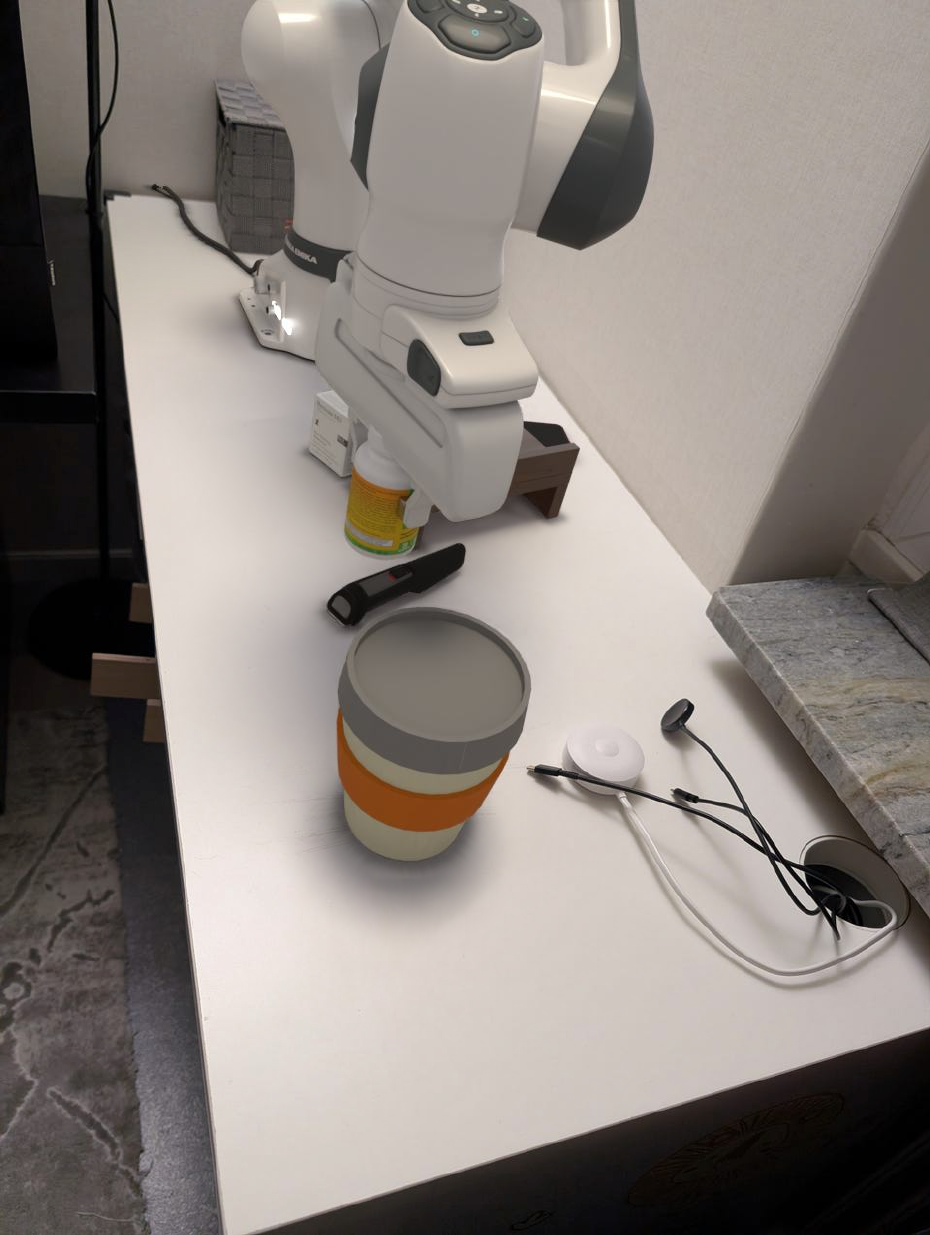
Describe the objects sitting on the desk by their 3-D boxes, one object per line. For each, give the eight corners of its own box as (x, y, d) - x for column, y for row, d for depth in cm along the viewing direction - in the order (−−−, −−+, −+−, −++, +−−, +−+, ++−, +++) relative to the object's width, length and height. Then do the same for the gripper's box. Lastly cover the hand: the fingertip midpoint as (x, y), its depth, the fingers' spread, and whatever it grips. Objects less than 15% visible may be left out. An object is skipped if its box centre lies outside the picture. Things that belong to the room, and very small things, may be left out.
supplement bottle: (404, 571, 65) (428, 457, 58) (333, 549, 65) (349, 434, 58) (422, 529, 69) (446, 419, 62) (355, 509, 69) (372, 397, 62)
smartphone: (577, 455, 110) (459, 445, 106) (575, 461, 111) (458, 452, 106) (561, 424, 115) (449, 413, 111) (559, 430, 116) (447, 419, 112)
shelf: (350, 486, 97) (361, 412, 91) (498, 459, 107) (516, 391, 102) (406, 551, 90) (421, 477, 85) (557, 516, 101) (580, 448, 95)
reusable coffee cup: (399, 719, 74) (431, 580, 64) (518, 814, 69) (572, 679, 59) (283, 803, 65) (299, 658, 56) (409, 918, 61) (451, 781, 51)
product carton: (307, 452, 100) (313, 393, 95) (348, 438, 104) (356, 381, 99) (342, 479, 98) (350, 420, 93) (383, 464, 101) (393, 407, 97)
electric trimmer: (470, 578, 90) (477, 553, 88) (348, 632, 80) (353, 605, 78) (445, 557, 91) (451, 532, 89) (323, 607, 82) (327, 581, 80)
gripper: (301, 240, 59) (285, 422, 68) (466, 400, 48) (421, 592, 57) (384, 238, 62) (359, 413, 71) (557, 387, 51) (501, 572, 60)
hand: (388, 494), depth 64 cm, fingers closed on supplement bottle, 5 cm apart
